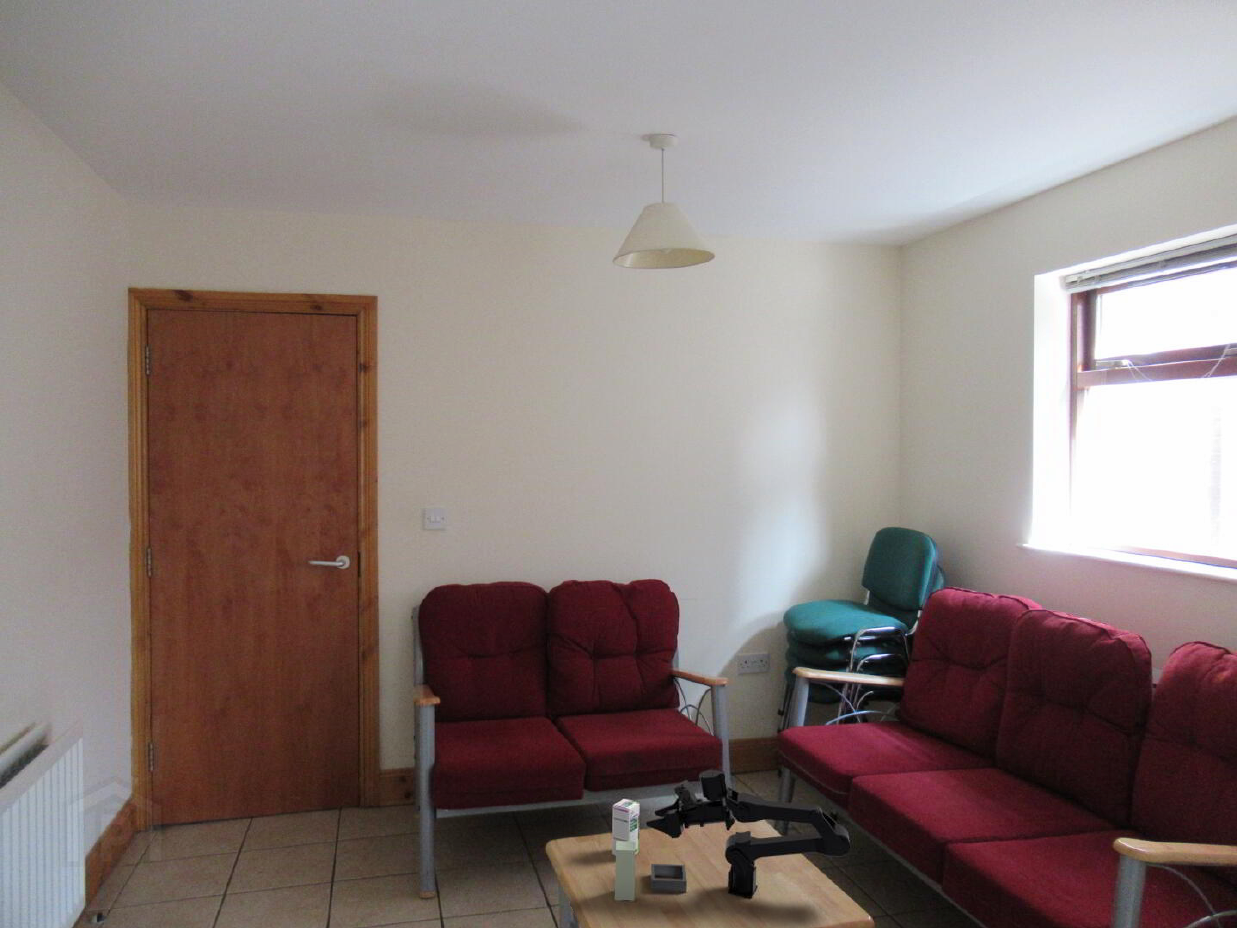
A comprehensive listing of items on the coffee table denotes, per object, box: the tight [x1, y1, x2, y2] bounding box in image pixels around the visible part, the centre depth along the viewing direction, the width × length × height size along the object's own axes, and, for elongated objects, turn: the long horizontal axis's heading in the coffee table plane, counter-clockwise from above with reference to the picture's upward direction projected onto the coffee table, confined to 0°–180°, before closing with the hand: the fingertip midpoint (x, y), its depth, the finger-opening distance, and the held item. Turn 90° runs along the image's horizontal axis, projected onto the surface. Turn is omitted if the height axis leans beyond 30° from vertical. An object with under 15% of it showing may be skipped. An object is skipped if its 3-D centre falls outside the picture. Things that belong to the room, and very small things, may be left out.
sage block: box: [614, 841, 637, 902], centre depth 231 cm, size 5×5×13 cm
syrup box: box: [611, 798, 640, 857], centre depth 254 cm, size 6×6×14 cm
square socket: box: [650, 863, 688, 894], centre depth 238 cm, size 9×9×3 cm
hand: (650, 818), depth 241 cm, fingers open, 9 cm apart
